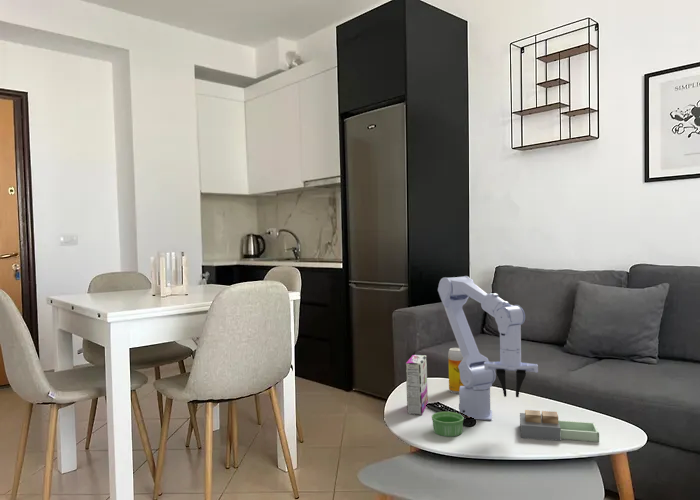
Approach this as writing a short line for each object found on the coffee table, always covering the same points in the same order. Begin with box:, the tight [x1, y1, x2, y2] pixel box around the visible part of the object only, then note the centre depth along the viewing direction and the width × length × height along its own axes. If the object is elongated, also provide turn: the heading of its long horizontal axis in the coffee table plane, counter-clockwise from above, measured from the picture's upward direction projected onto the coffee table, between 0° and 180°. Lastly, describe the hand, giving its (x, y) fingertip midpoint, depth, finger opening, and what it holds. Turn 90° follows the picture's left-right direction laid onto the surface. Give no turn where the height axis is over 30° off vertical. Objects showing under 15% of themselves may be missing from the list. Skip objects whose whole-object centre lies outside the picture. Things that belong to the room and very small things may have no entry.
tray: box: [558, 419, 600, 443], centre depth 145 cm, size 10×8×2 cm
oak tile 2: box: [541, 410, 559, 424], centre depth 147 cm, size 4×4×2 cm
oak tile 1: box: [524, 409, 542, 423], centre depth 148 cm, size 4×4×2 cm
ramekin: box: [431, 411, 465, 438], centre depth 150 cm, size 9×9×4 cm
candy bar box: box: [405, 354, 429, 416], centre depth 170 cm, size 11×5×16 cm, turn 162°
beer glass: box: [447, 347, 464, 394], centre depth 188 cm, size 6×6×15 cm
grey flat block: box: [519, 412, 562, 441], centre depth 148 cm, size 10×10×4 cm
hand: (511, 395), depth 150 cm, fingers open, 3 cm apart
